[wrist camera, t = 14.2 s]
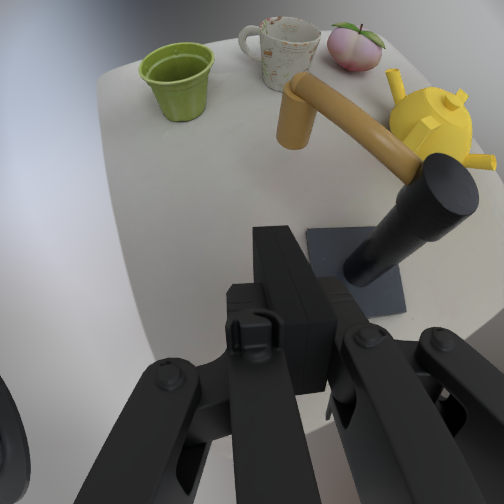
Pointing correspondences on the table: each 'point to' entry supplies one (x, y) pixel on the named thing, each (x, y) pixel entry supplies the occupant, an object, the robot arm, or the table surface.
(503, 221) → the table surface
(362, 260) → the square base plate
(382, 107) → the table surface
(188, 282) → the table surface
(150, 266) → the table surface
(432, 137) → the teapot
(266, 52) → the mug
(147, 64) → the plant pot
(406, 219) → the spout
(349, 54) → the decorative fruit
